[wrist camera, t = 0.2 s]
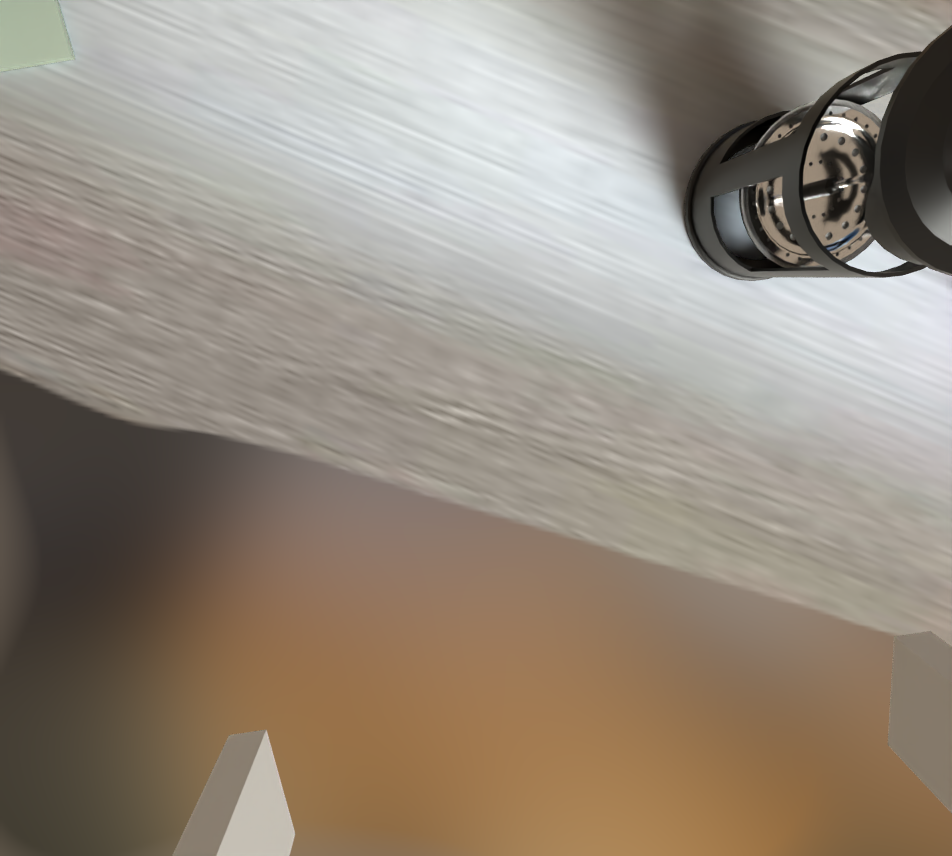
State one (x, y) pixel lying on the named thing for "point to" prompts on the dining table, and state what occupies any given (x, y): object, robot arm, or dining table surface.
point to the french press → (839, 177)
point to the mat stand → (32, 34)
